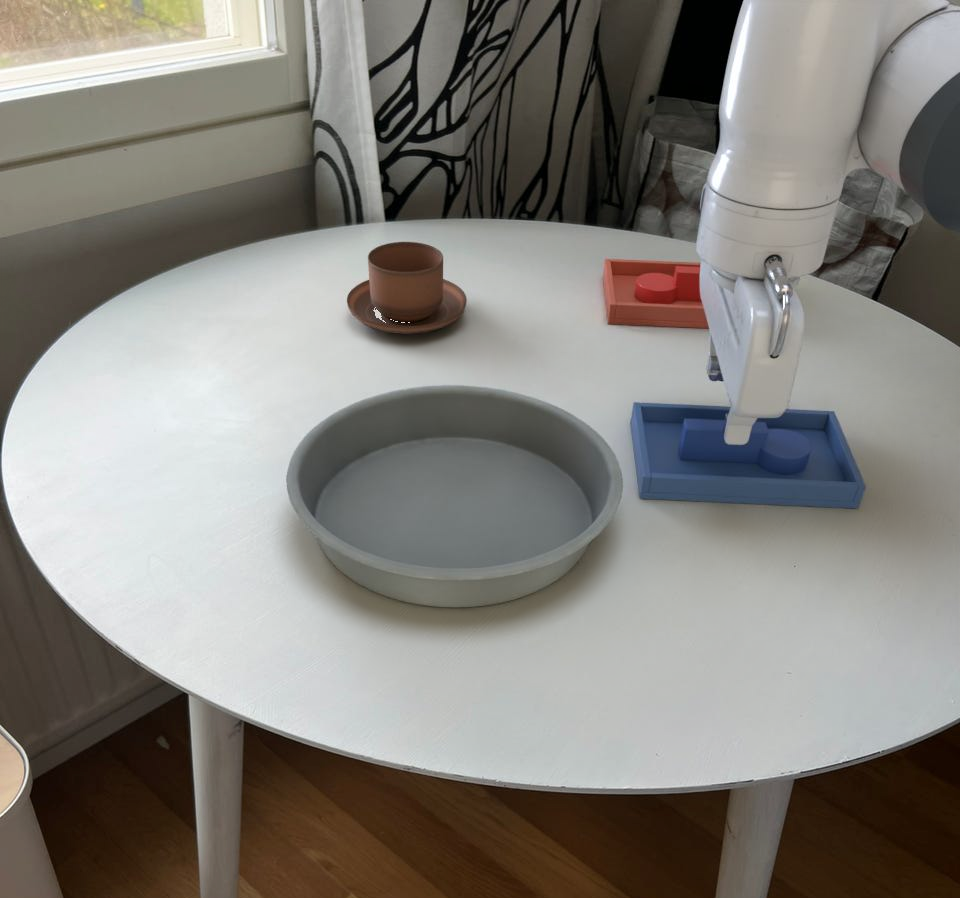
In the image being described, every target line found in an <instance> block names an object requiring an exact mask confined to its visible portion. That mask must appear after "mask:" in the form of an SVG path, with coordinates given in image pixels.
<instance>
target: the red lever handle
mask: <svg viewBox="0 0 960 898" xmlns="http://www.w3.org/2000/svg"><path fill="white" fill-rule="evenodd" d="M635 297H636V298H637V299H638V300H639V301H641V302H643V303H648V304H671V303H673V302H674V301H675V300H679V301H700V302H702V301H701V297H700V267H688V266H676V267H675V273H674V277H672V276H670V275H666V274H662V273H647V274H643V275H641V276H639V277H638V278H637V281H636V288H635Z"/></svg>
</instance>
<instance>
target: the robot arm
mask: <svg viewBox="0 0 960 898" xmlns="http://www.w3.org/2000/svg"><path fill="white" fill-rule="evenodd" d="M722 84H723V85H722V88H721V94H720V100H719V106H718V119H719V120H718V121H719V142H718V147H717V149H716V153H715V156H714V158H713V160H712V162H711V164H710V167H709V168H708V173H707V177H706V182H705V183H704V184H703V187H702V190H701V197H700V204H699V211H700V218H699V224H698V230H697V236H696V242H695V251H696V254H697V255H698V257H699V259H700V263H701V265H700V297H701V301H702V304H703V308H704V311H705V315H706V318H707V322H708V326H709V328H708V331H709V332H708V333H709V336H708V340H709V341H708V357H707V363H706V374H707V376H708V378H709V381H711V382H722V383H724V387H725V390H726V394H727V398H728V401H729V405H730V407H731V408H730V411H729V414H725V419H724V425H723V428H722V431H723V435H724V440H725V443H727V444H730V445H744V444H746V443H747V442H748V440H749V437H750V433H751V429H752V425H753V424H754V423H755V421H756V420H757V418H778V417H780V416H781V415H782V414H783V413H784V412H785V410H786V409H788V407H789V405H790V401H791V398H792V393H793V389H794V385H795V381H796V376H797V370H798V365H799V361H800V357H801V356H800V355H801V351H802V344H803V339H804V334H805V333H804V332H805V311H804V307H803V304H802V302H801V299H800V298H799V295H798V293H797V291H796V288H797V287H798V285H799V283H800V279H801V277H805V276H808V275H810V274H812V273H814V272H816V271H817V270H818V269H819V268H820V267H822V265H823V264H824V263H823V262H824V259H825V255H826V253H827V248H828V244H829V241H830V237H831V233H832V229H833V225H834V221H835V219H836V214H837V210H838V206H839V202H840V199H841V196H842V192H843V188H844V184H845V180H846V179H847V176H848V175H849V174H850V173H852V171H855V170H865V169H866V170H867V169H868V170H869V169H871V170H872V171H874V172H875V173H876V174H878V175H879V176H881V177H882V178H883V179H885V180H887V181H888V182H889V183H891V184H893V185H894V186H896V187H897V188H899V189H900V190H902V191H903V192H905V193H906V194H907V195H908V197H909V198H910V199H911V200H913V202H915V204H917V205H918V206H919V207H920V208H921V209H922V210H923V211H924V212H926V214H927V215H929V216H930V218H932V219H933V220H934V221H935V222H936V223H937V224H938V225H940V226H941V227H942V228H945V229H947V230H949V231H952V232H955V233H959V234H960V6H958V5H956V4H955V3H952V2H950V1H948V0H743V1H742V4H741V7H740V10H739V13H738V17H737V20H736V24H735V28H734V30H733V35H732V40H731V44H730V49H729V53H728V58H727V63H726V67H725V73H724V77H723V83H722Z"/></svg>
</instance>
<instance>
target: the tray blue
mask: <svg viewBox="0 0 960 898" xmlns="http://www.w3.org/2000/svg"><path fill="white" fill-rule="evenodd" d="M730 408H731V406H726V405H724V406H723V405H708V404H707V405H704V404H686V403H685V404H681V403H680V404H679V403H660V402H639V401H638V402H637V401H634V402H633V403H632V409H631V415H630V432H631V439H632V447H633V455H634V463H635V470H636V479H637V486H638V493H639V495H638V496H639V499H640V500H641V499H642V500H643V499H644V500H667V501H686V502H707V503H708V502H709V503H727V504H729V503H730V504H732V503H733V504H749V505H752V504H753V505H772V506H791V507H792V506H794V507H814V508H835V509H836V508H837V509H856V510H857V509H859V508H860V505H861V501H862V499H863V497H864V495H865V492H866V488H867V486H866V484H865V481H864V478H863V476H862V474H861V471H860V469H859V467H858V463H856V459H855V457H854V454H853V453H852V451H851V448H850V445H849V444H848V440H847V438H846V436H845V434H844V431H843V429H842V426H841V424H840V422H839V420H838V417H837V415H836V412H835V411H834V410H817V409H795V408H794V409H793V408H787V409H786V410H785V412H784V413H783V414H782V415H781V416H780V417H778V418H757V420H756V421H755V422H765V423H766V426H767V429H768V430H770V429H785V430H790V431H794V432H796V433H799V434H801V435H802V436H804V437H805V438H807V439H808V440H809V442H810V443H811V446H812V450H811V453H810V456H809V460H808V463H807V466H806V468H805V469H804V470H803V471H801V472H799V473H796V474H790V475H783V474H776V473H772V472H769V471H767V470H765V469H763V468H761V467H760V466H758V465H757V464H756V463H735V462H714V461H693V460H680V456H679V450H678V448H679V443H680V438H681V433H682V428H683V423H684V419H685V418H686V419H707V420H724V419H725V414H729V411H730Z"/></svg>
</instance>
